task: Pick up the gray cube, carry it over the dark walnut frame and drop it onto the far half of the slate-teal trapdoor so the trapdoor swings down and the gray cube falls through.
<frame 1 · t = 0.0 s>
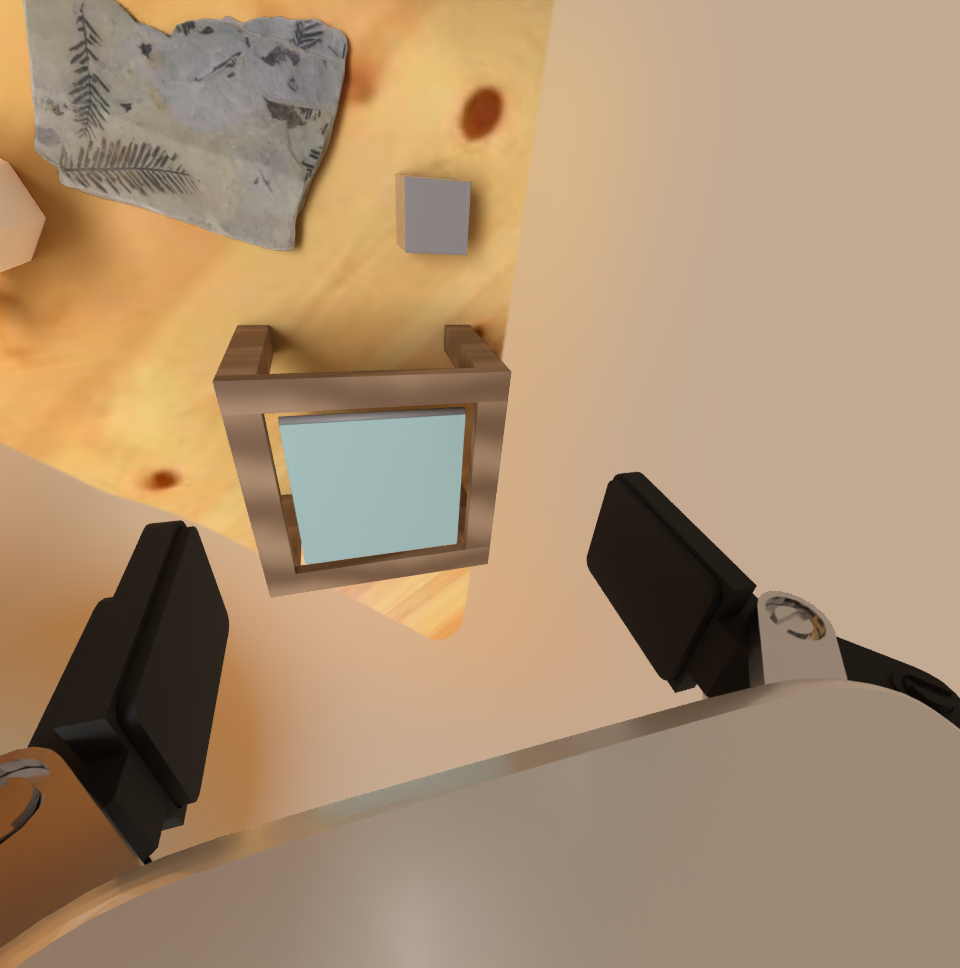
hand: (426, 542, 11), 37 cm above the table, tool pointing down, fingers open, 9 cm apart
fossil rock: (200, 113, 32), on the table
trapdoor frame: (368, 425, 49), on the table
gray cube: (425, 211, 39), on the table
trapdoor: (380, 488, 39), point 12 cm above the table, hinge at 0.0°
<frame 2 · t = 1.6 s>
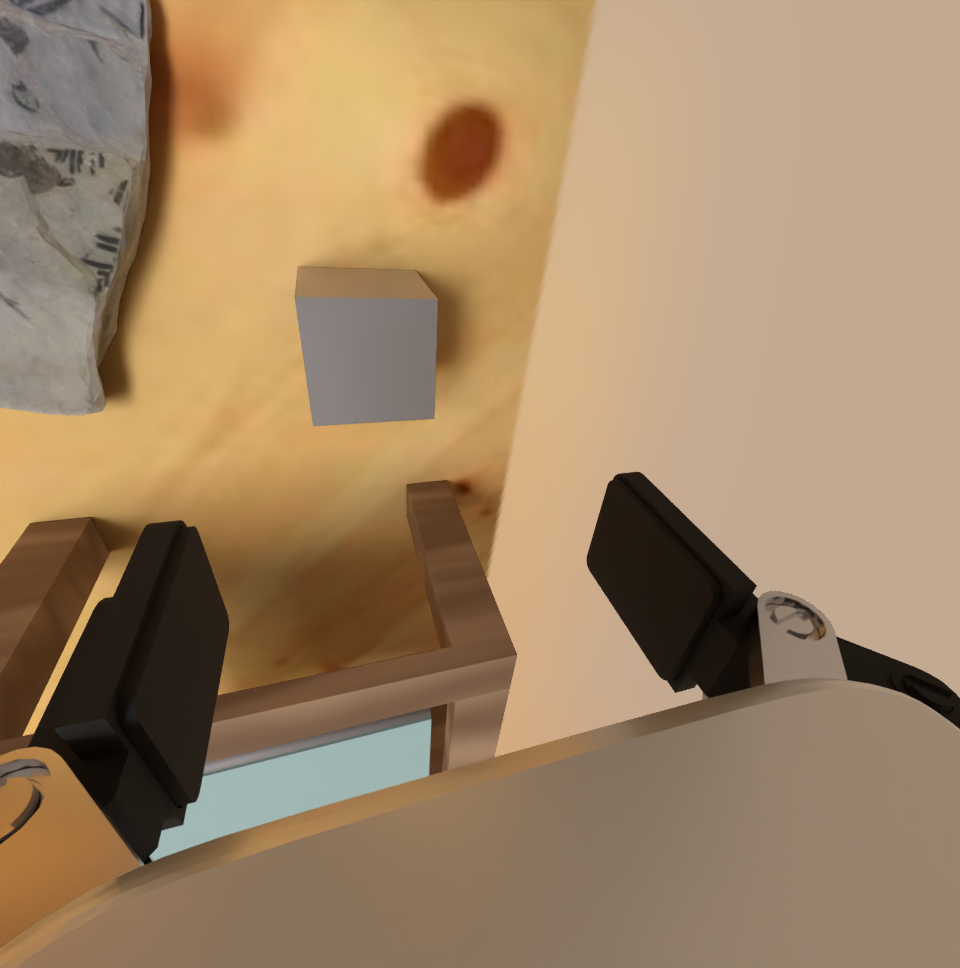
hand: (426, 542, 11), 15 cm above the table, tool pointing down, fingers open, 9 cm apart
trapdoor frame: (292, 619, 31), on the table
gray cube: (361, 325, 22), on the table
trapdoor: (284, 815, 22), point 12 cm above the table, hinge at 0.0°
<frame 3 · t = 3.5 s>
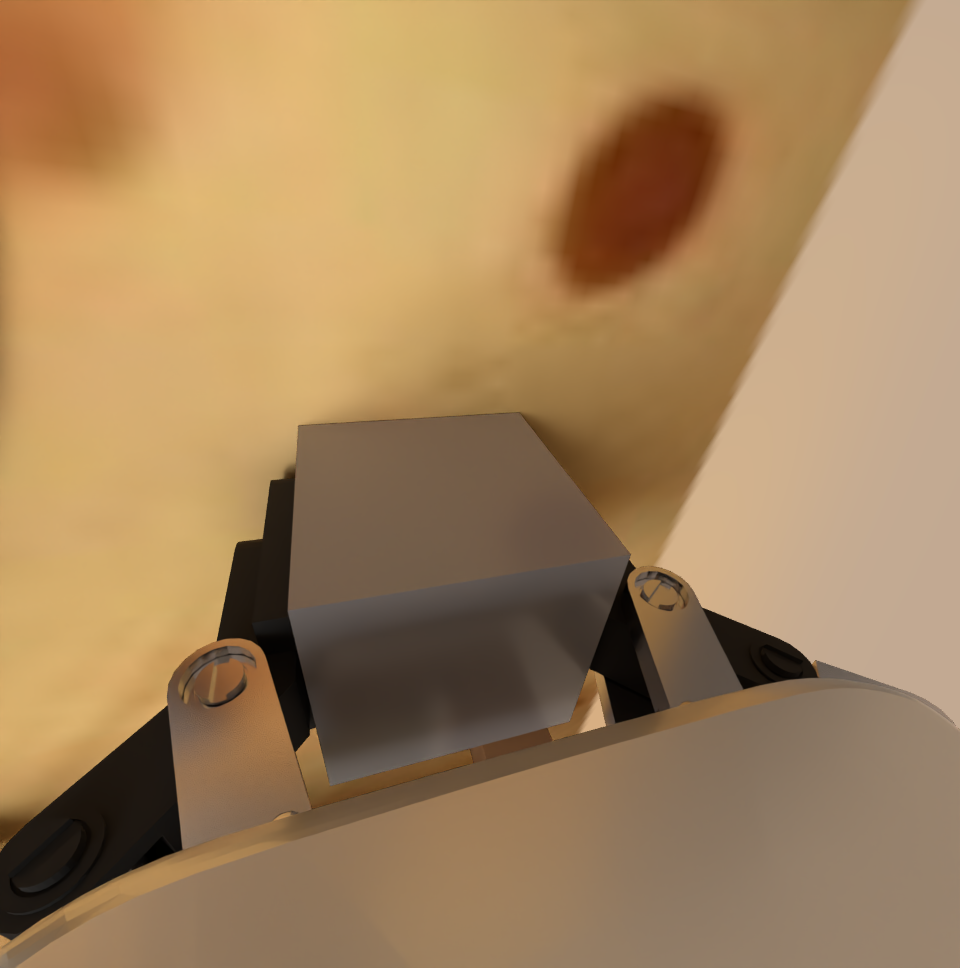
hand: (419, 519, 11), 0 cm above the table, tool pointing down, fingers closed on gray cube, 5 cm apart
trapdoor frame: (290, 857, 21), on the table
gray cube: (416, 506, 12), on the table, touching gripper
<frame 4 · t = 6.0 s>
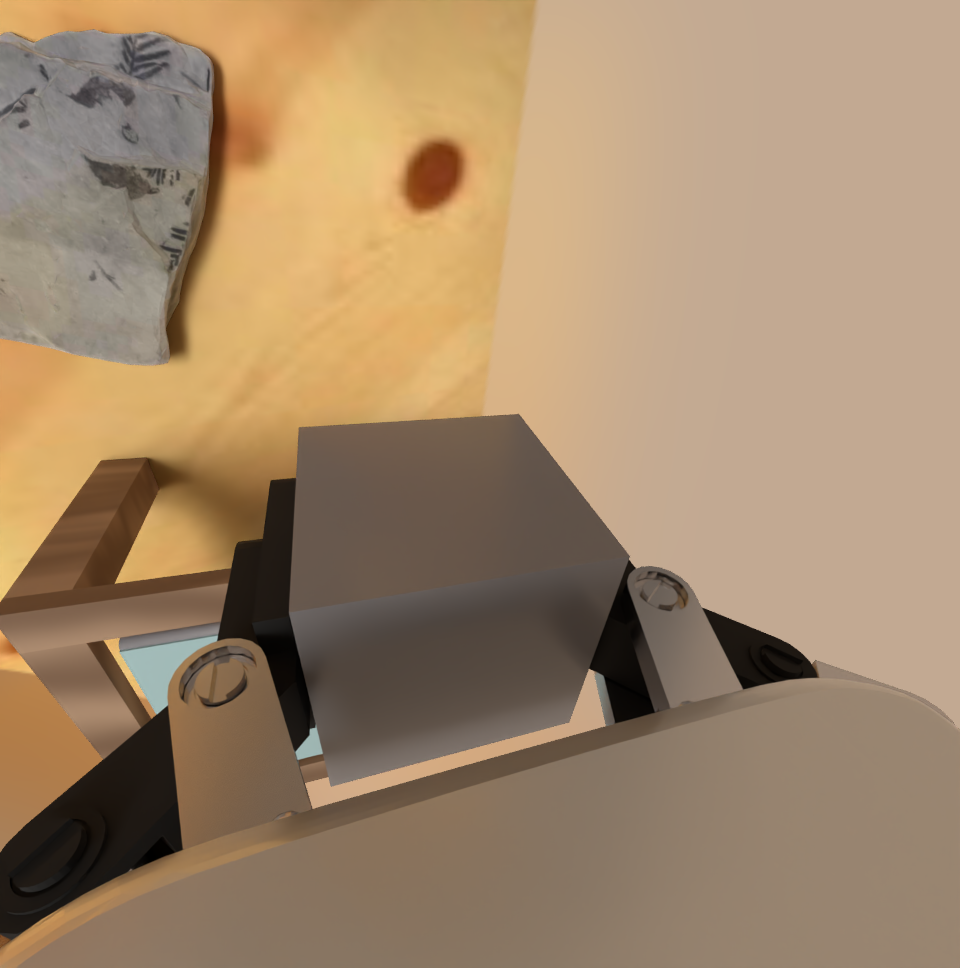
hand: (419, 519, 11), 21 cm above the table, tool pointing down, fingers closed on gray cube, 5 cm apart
trapdoor frame: (301, 559, 37), on the table
gray cube: (416, 507, 12), point 21 cm above the table, touching gripper
trapdoor: (296, 690, 28), point 12 cm above the table, hinge at 0.0°
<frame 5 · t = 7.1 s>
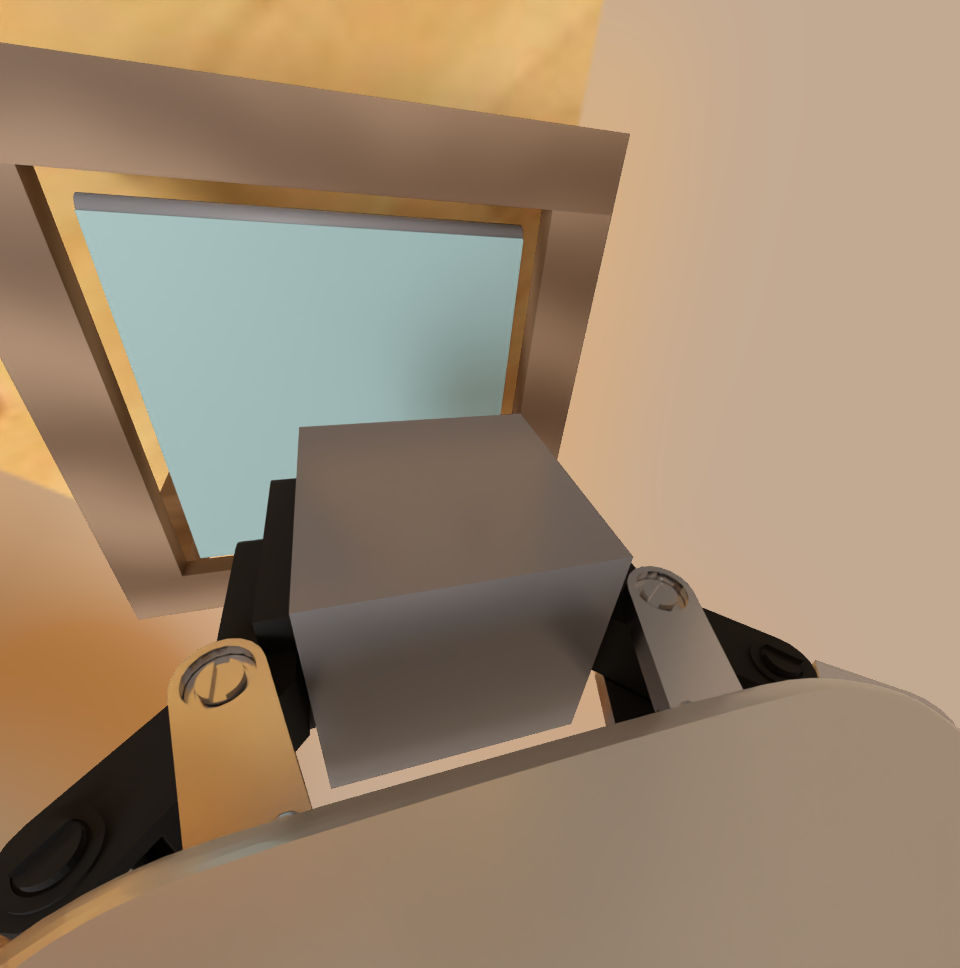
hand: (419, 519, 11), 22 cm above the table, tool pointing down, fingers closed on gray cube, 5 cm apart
trapdoor frame: (334, 324, 29), on the table
gray cube: (417, 507, 12), point 21 cm above the table, touching gripper
trapdoor: (343, 406, 19), point 12 cm above the table, hinge at 0.0°
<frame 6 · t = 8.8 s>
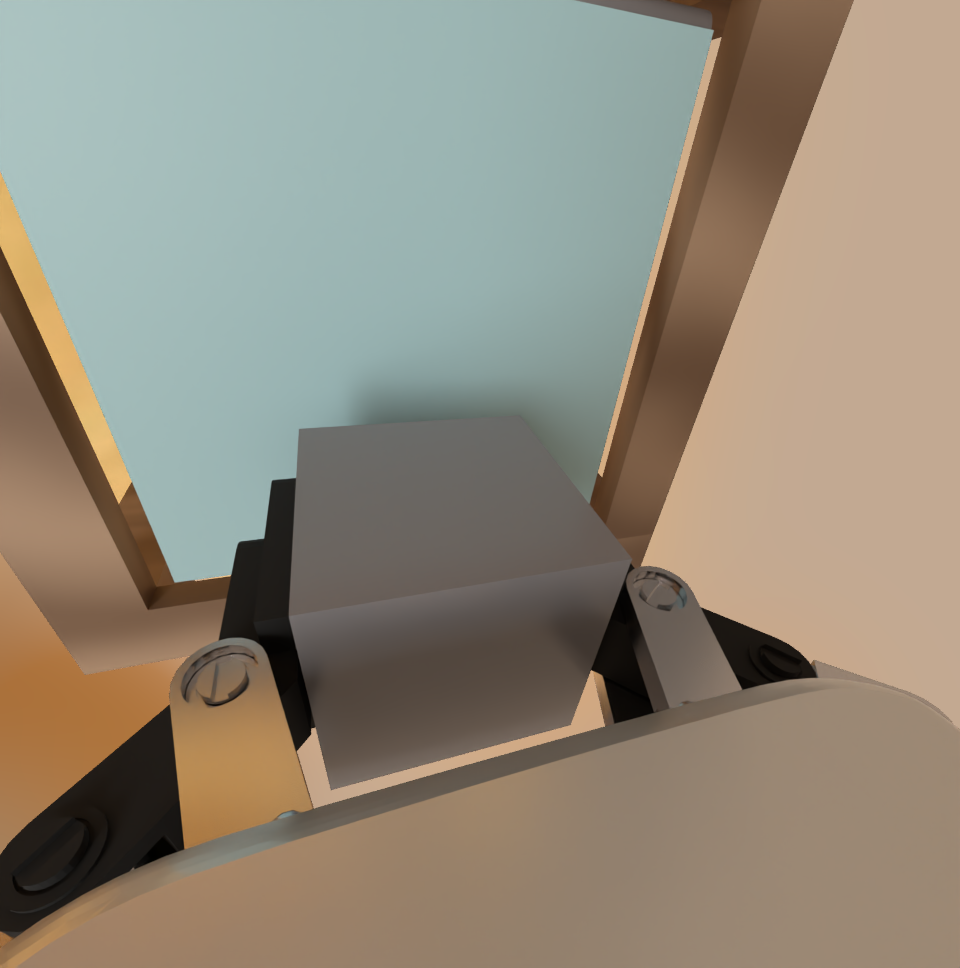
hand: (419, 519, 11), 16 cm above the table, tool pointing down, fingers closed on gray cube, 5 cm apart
trapdoor frame: (361, 265, 22), on the table
gray cube: (416, 508, 12), point 15 cm above the table, touching gripper
trapdoor: (396, 338, 12), point 12 cm above the table, hinge at 0.0°
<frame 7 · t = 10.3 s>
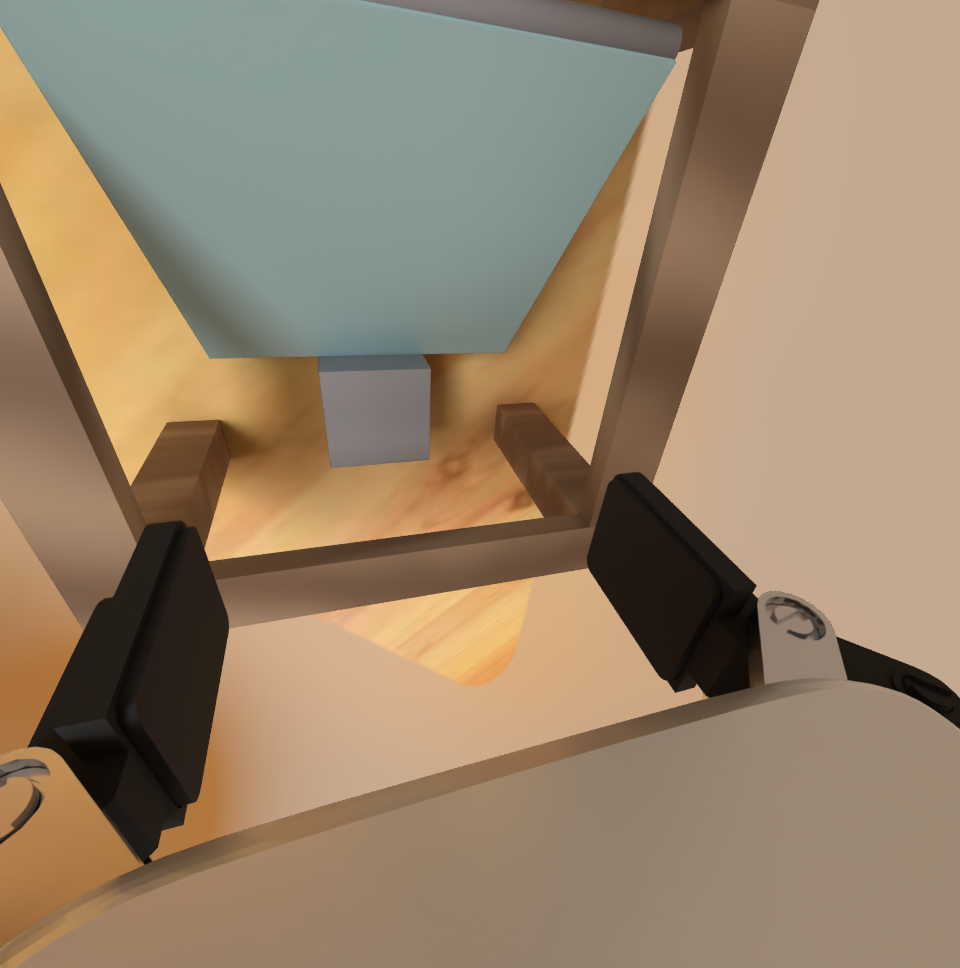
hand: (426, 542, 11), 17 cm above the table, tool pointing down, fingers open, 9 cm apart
trapdoor frame: (360, 263, 23), on the table
gray cube: (371, 352, 23), point 2 cm above the table, tilted 90°, touching trapdoor
trapdoor: (372, 237, 16), point 7 cm above the table, hinge at -42.7°, touching gray cube
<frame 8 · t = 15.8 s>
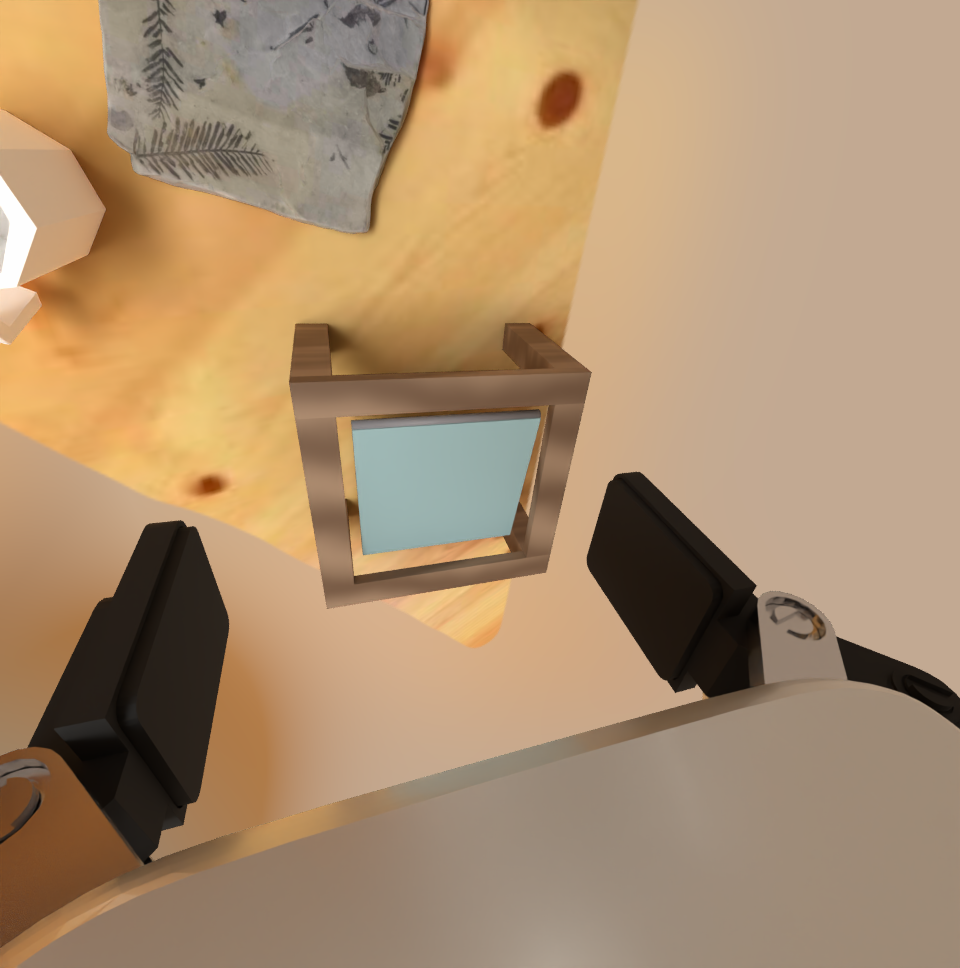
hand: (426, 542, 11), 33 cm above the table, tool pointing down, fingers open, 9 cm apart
mug: (29, 222, 30), on the table
fossil rock: (273, 87, 30), on the table
trapdoor frame: (420, 428, 47), on the table
trapdoor: (444, 486, 38), point 11 cm above the table, hinge at -9.5°
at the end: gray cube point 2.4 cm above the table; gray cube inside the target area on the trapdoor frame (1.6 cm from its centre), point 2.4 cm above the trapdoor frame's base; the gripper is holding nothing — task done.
